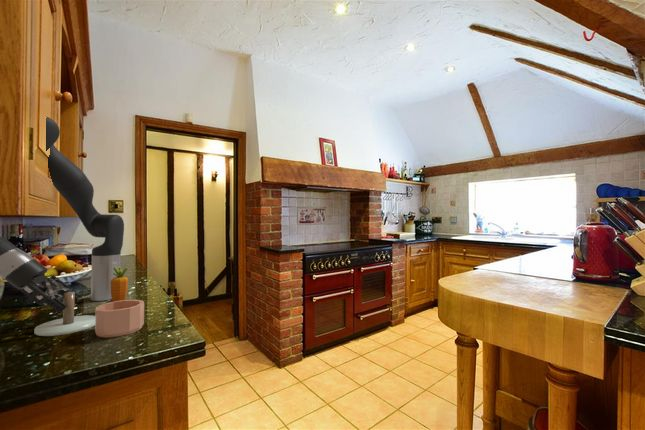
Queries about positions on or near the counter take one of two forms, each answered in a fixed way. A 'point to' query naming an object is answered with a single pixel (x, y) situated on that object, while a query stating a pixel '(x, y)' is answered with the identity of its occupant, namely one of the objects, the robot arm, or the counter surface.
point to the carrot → (119, 285)
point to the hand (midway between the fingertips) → (70, 305)
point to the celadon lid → (66, 321)
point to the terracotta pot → (119, 318)
